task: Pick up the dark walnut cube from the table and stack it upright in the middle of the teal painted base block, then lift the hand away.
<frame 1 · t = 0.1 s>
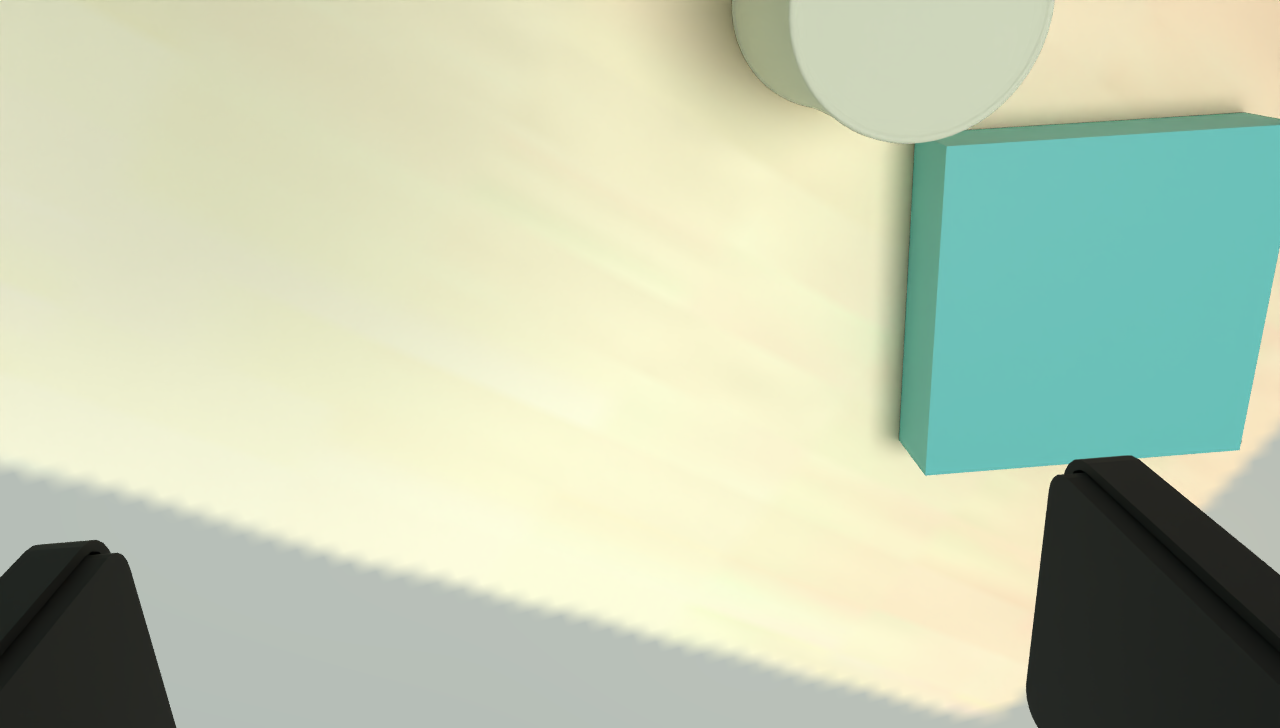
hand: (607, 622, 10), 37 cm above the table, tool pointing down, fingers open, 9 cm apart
can: (832, 1, 43), on the table
teal base: (1062, 284, 48), on the table
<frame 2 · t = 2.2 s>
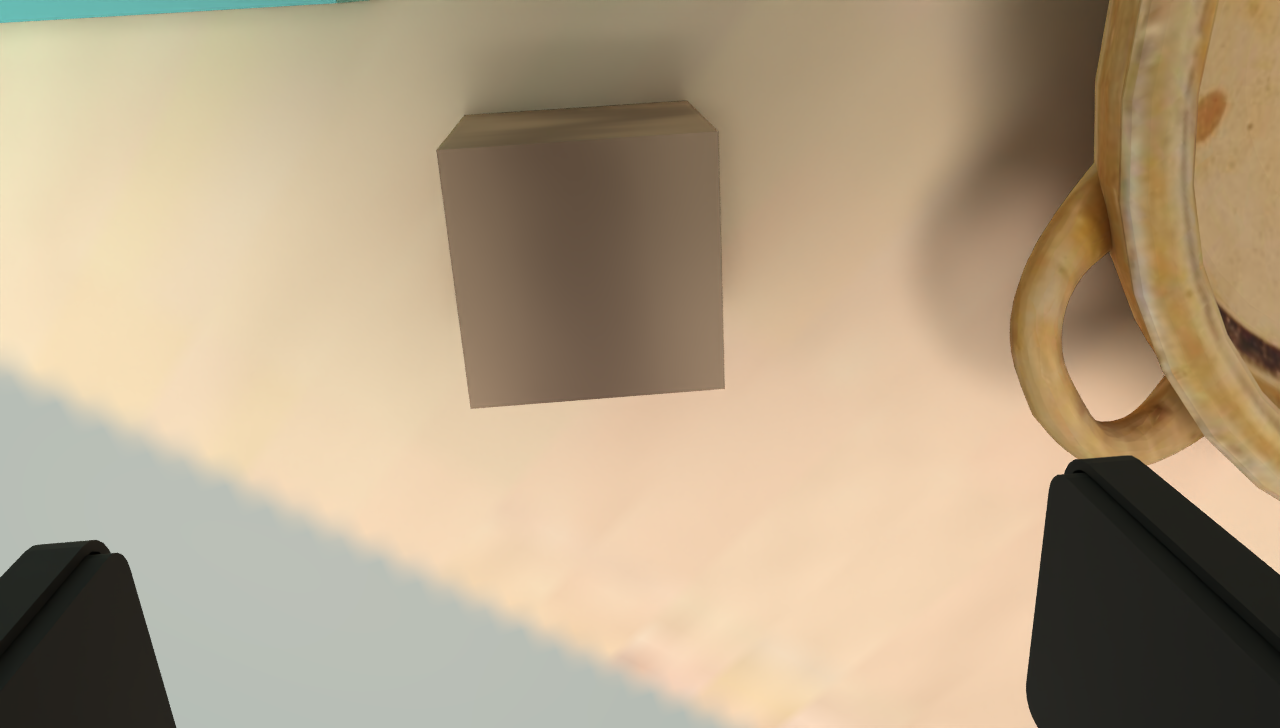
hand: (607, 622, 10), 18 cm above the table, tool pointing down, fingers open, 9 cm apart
walnut cube: (584, 216, 27), on the table
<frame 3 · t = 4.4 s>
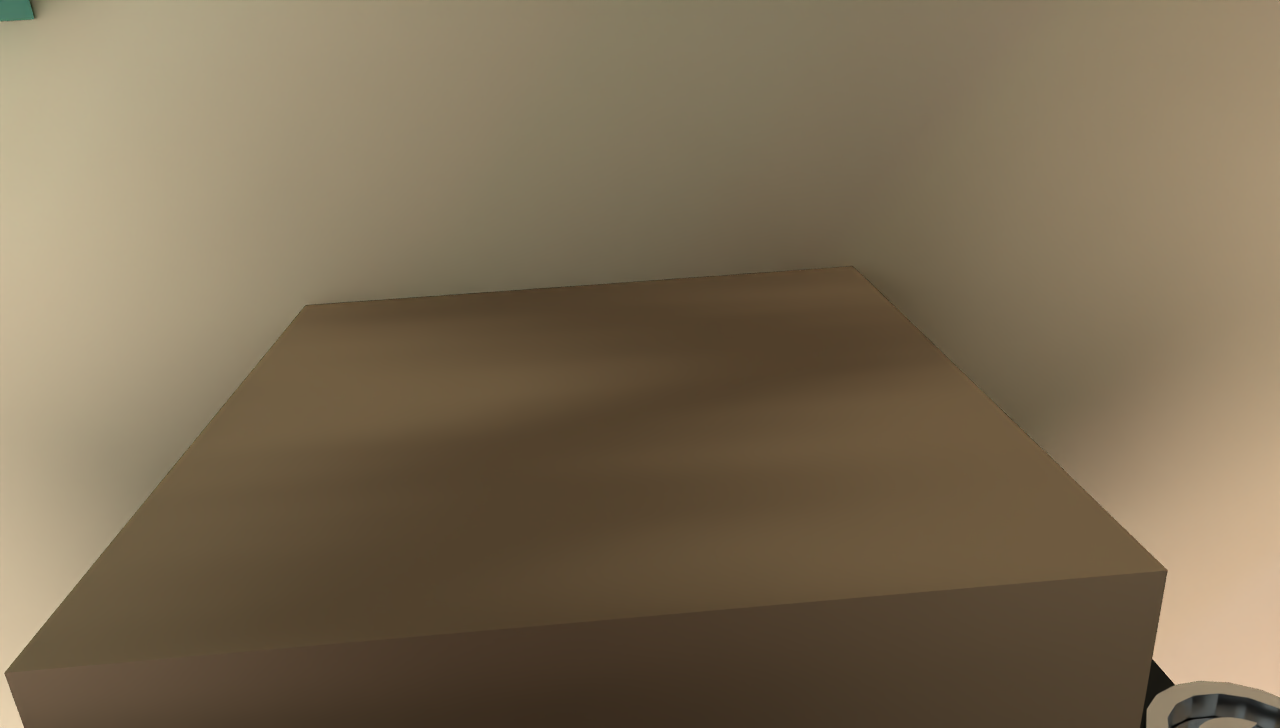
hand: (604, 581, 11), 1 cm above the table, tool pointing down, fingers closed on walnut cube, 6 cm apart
walnut cube: (601, 523, 12), on the table, touching gripper
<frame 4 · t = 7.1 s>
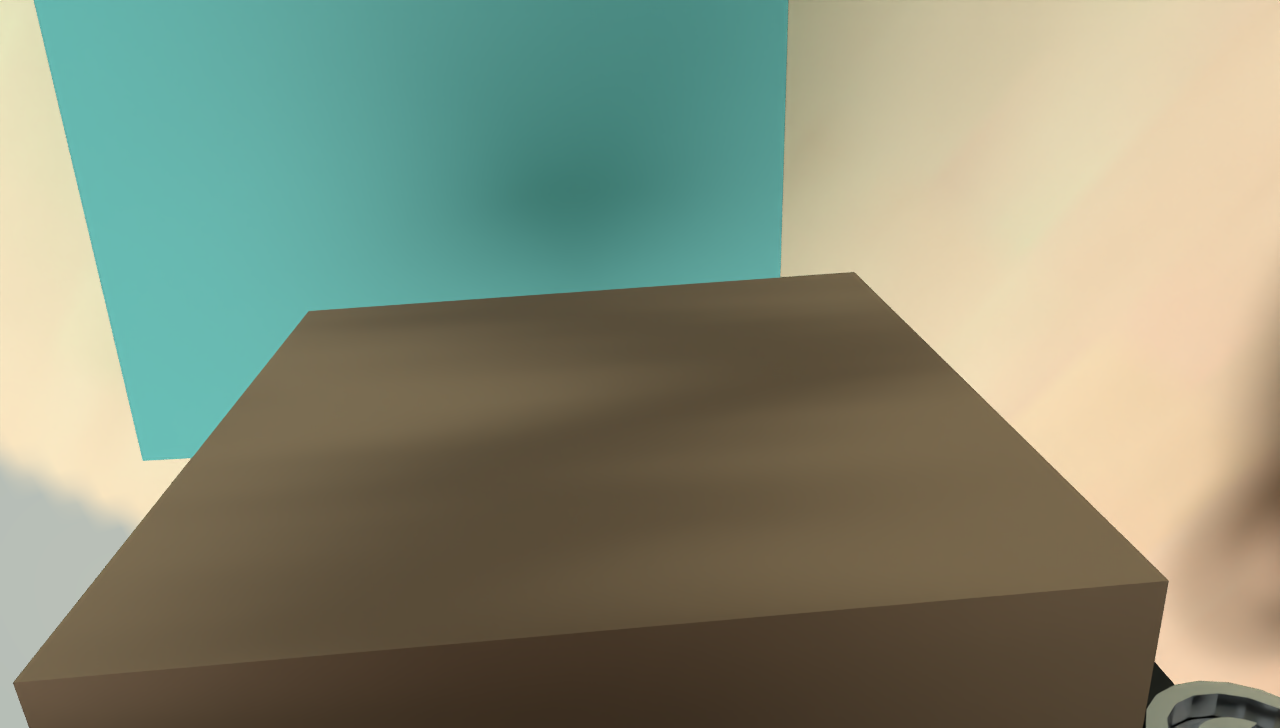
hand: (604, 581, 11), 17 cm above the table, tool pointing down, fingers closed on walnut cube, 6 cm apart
walnut cube: (603, 527, 12), point 16 cm above the table, touching gripper
teal base: (452, 102, 25), on the table
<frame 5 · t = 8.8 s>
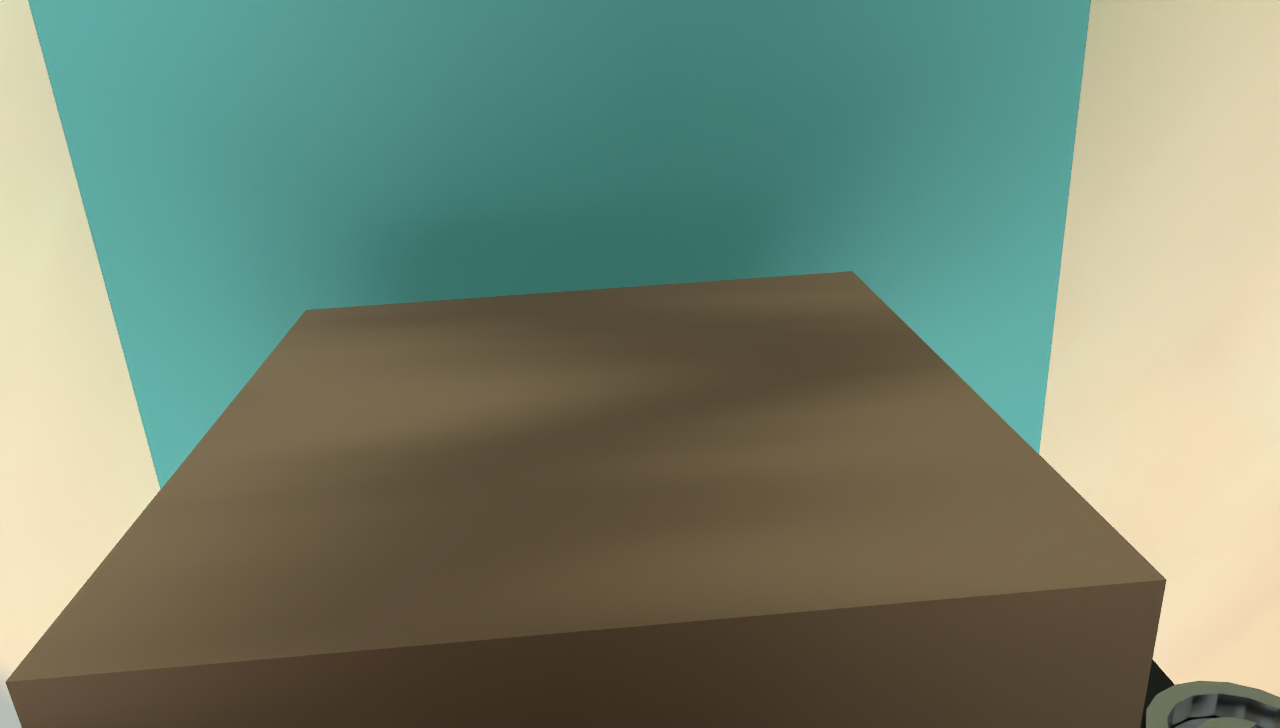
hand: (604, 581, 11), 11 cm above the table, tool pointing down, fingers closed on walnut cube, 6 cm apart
walnut cube: (601, 527, 12), point 9 cm above the table, touching gripper
teal base: (597, 284, 20), on the table
when the fingers open (6 cm above the table, at t = 10.0 s): walnut cube drops 1 cm, resting on teal base.
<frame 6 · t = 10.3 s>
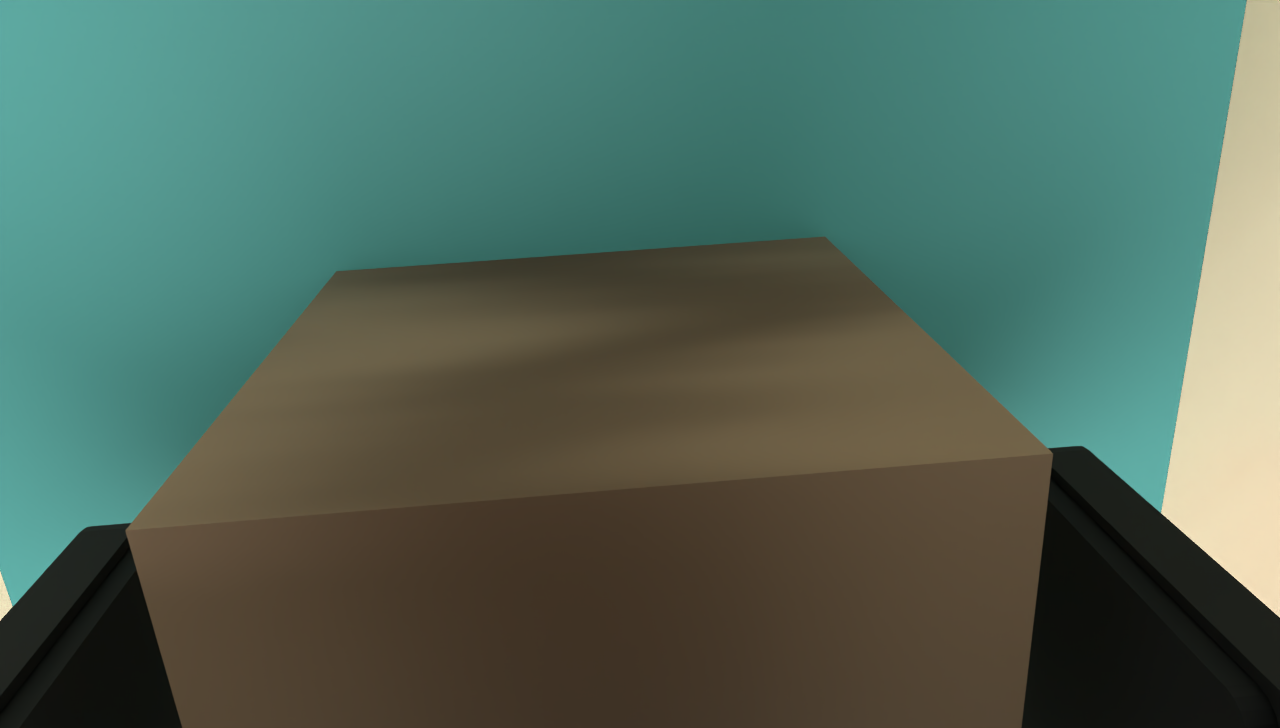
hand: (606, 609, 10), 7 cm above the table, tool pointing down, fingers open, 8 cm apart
walnut cube: (600, 471, 13), point 4 cm above the table, touching teal base
teal base: (590, 363, 17), on the table
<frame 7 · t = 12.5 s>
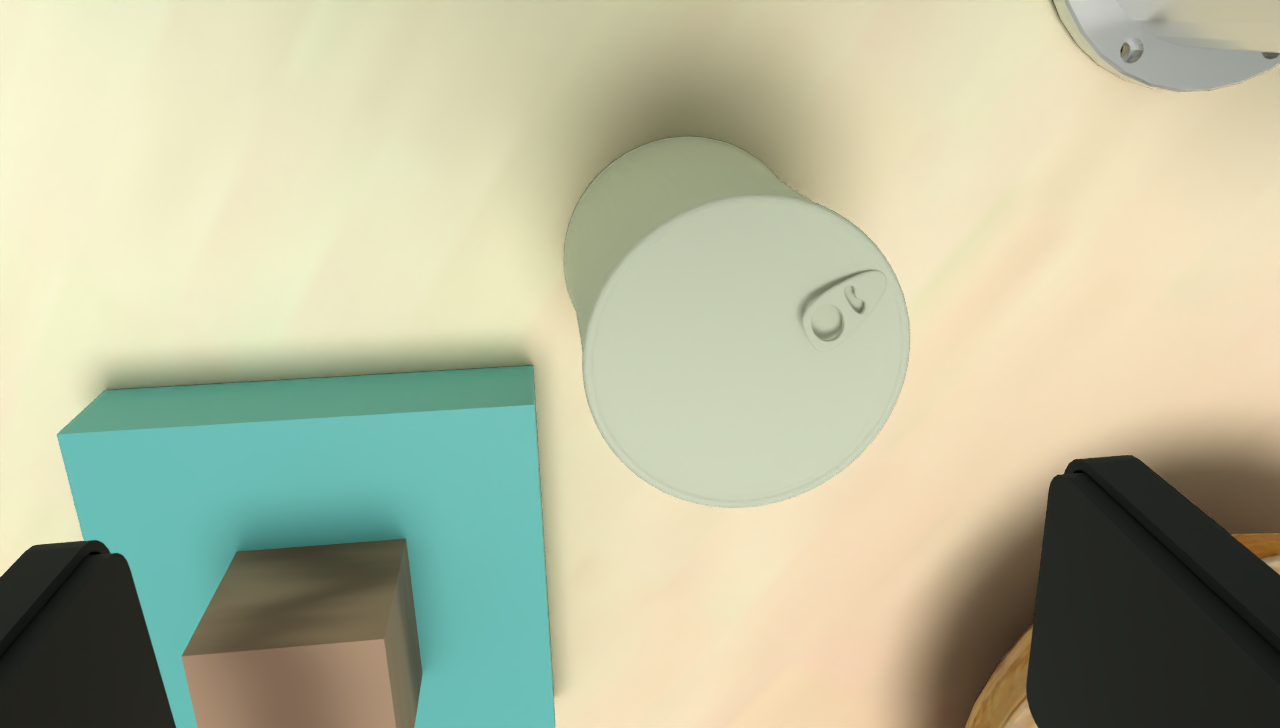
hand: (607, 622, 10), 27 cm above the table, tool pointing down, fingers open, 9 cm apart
can: (683, 257, 37), on the table
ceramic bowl: (1128, 681, 47), on the table
walnut cube: (333, 614, 36), point 4 cm above the table, touching teal base
teal base: (349, 558, 40), on the table
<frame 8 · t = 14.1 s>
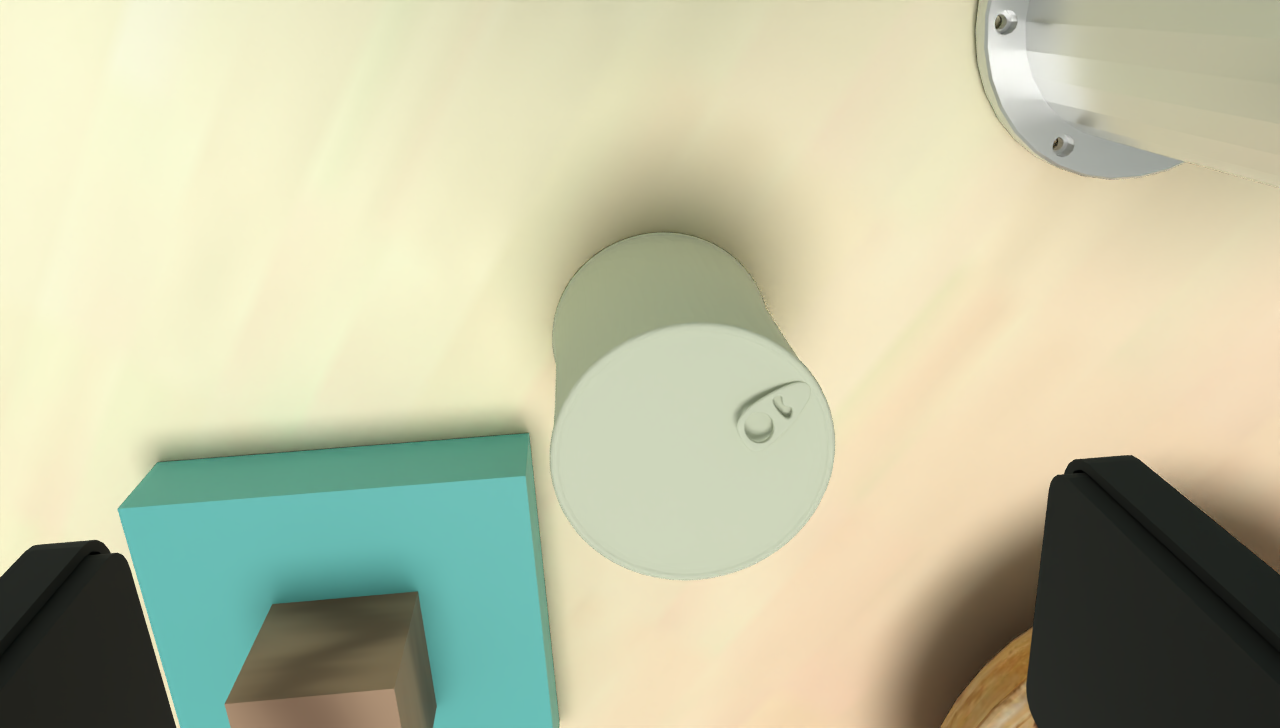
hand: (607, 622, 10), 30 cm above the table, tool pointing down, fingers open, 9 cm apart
can: (660, 335, 41), on the table
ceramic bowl: (1094, 704, 51), on the table
walnut cube: (357, 656, 41), point 4 cm above the table, touching teal base
teal base: (373, 601, 45), on the table
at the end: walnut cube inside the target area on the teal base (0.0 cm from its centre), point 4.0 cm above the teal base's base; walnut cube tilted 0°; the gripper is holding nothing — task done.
